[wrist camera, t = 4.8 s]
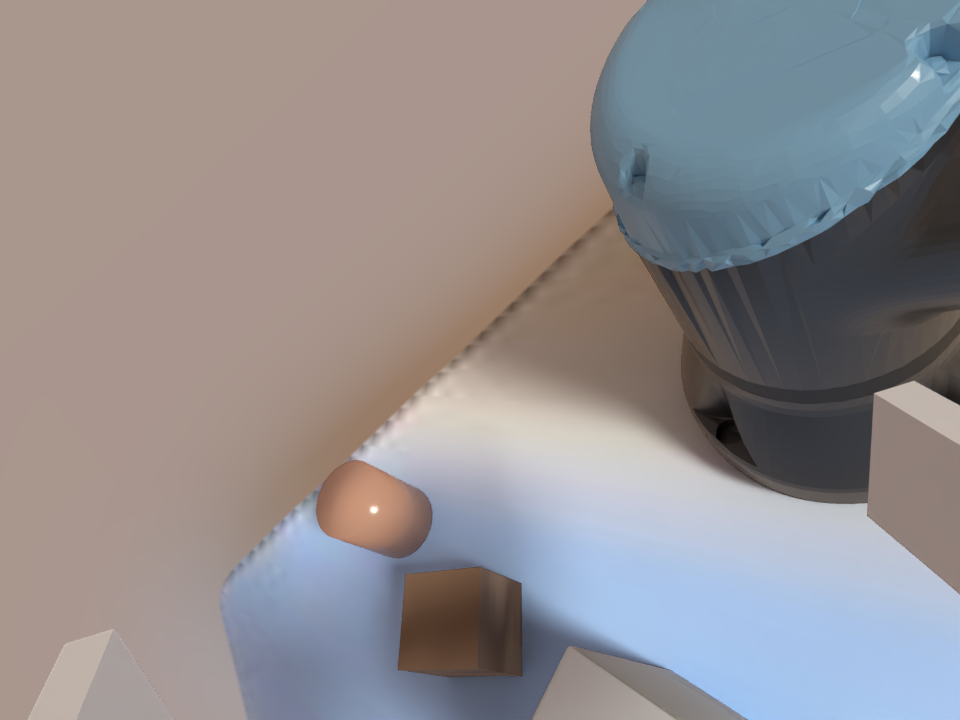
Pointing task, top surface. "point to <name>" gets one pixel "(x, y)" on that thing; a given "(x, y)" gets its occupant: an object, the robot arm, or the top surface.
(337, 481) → the peach rounded cylinder
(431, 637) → the walnut block
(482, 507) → the top surface
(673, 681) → the supplement box
